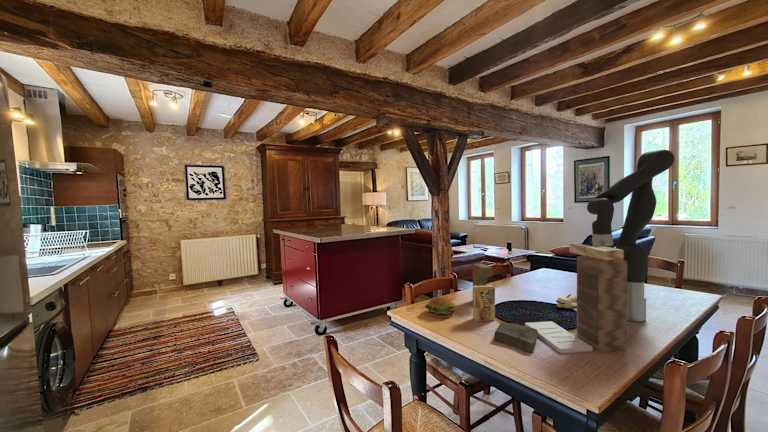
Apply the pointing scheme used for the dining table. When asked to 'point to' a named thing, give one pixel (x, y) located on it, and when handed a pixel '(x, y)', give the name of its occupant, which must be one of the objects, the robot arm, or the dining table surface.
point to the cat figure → (566, 301)
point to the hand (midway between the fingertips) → (605, 281)
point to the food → (440, 307)
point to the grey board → (559, 337)
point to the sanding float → (598, 252)
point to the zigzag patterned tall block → (602, 304)
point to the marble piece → (517, 336)
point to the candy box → (484, 303)
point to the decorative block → (481, 274)
